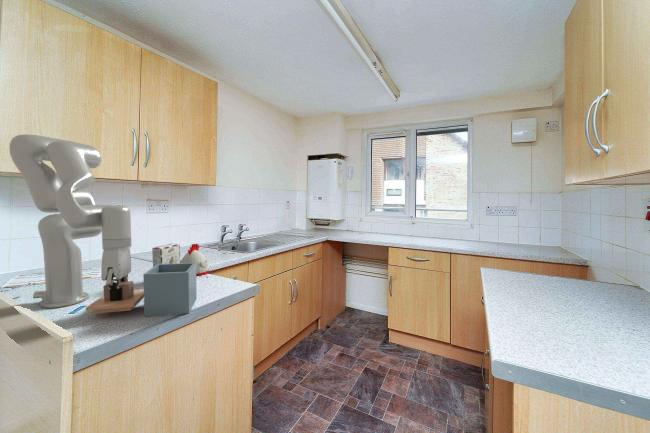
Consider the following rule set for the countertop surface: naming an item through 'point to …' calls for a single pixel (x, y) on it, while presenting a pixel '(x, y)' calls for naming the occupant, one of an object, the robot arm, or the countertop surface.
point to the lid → (127, 302)
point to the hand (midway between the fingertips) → (119, 297)
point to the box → (169, 289)
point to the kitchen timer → (196, 260)
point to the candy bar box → (166, 254)
